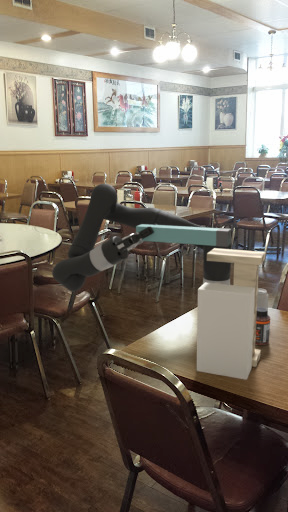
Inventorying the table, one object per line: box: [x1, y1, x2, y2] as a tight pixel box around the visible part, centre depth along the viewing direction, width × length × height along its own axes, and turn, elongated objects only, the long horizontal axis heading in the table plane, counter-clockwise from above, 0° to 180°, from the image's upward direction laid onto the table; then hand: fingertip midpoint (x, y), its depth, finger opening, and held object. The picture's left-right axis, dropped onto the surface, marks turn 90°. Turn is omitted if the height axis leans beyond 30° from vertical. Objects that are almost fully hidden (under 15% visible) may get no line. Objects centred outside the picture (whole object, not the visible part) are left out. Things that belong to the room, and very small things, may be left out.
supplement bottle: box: [255, 307, 271, 346], centre depth 149 cm, size 6×6×11 cm
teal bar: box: [135, 224, 232, 247], centre depth 128 cm, size 4×26×4 cm, turn 67°
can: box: [257, 287, 270, 311], centre depth 167 cm, size 8×8×12 cm
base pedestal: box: [196, 282, 255, 381], centre depth 129 cm, size 7×14×24 cm, turn 67°
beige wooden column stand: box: [207, 248, 266, 368], centre depth 136 cm, size 8×15×32 cm, turn 67°
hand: (155, 228), depth 131 cm, fingers closed on teal bar, 4 cm apart
